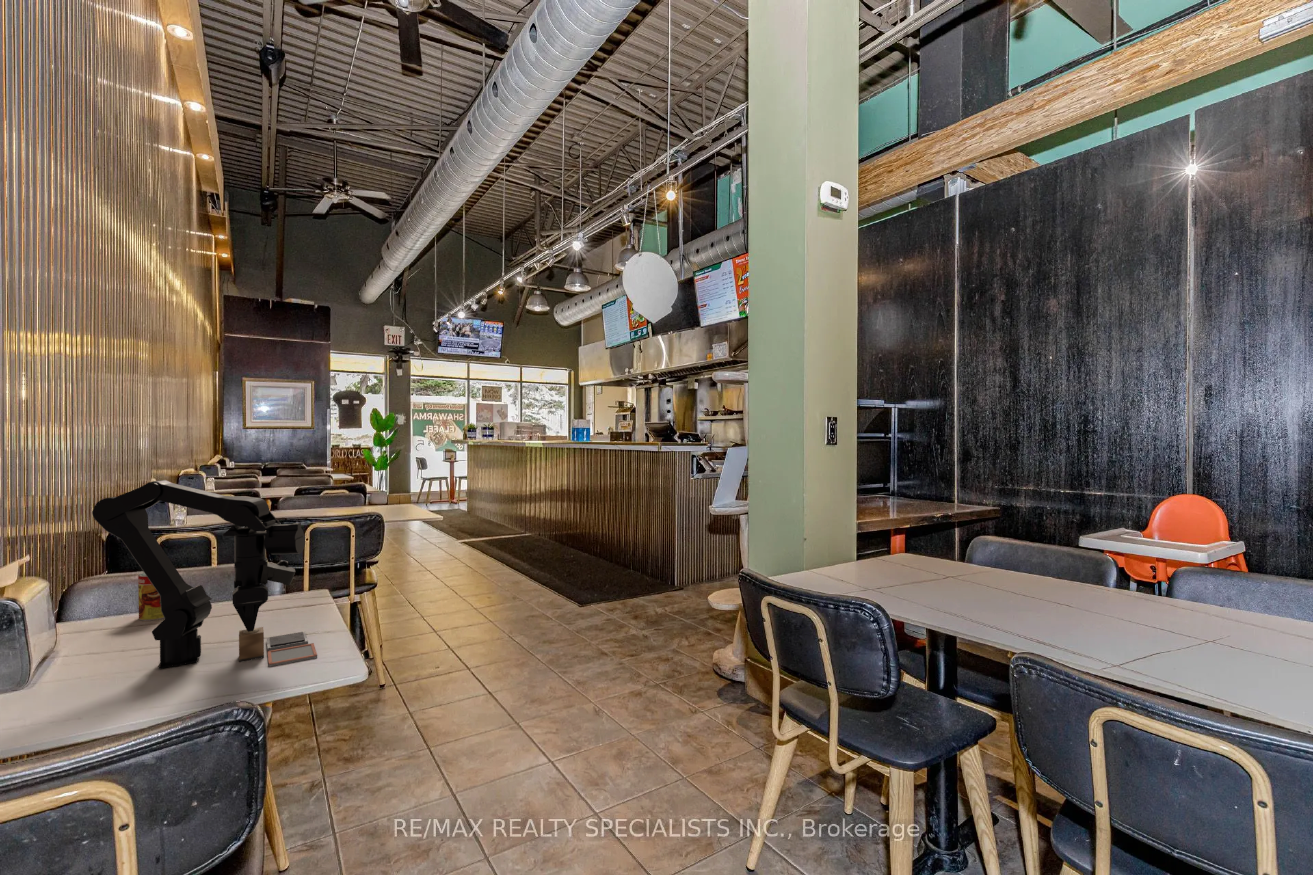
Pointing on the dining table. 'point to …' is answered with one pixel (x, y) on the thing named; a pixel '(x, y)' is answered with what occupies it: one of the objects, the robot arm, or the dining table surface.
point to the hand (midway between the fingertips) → (250, 625)
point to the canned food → (148, 600)
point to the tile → (291, 654)
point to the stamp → (251, 644)
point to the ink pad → (286, 641)
